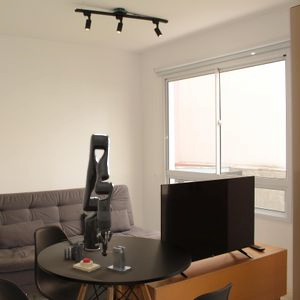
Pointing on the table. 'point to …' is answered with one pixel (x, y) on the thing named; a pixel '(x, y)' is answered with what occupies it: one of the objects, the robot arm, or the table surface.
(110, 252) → the lever handle
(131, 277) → the table surface
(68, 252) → the camera
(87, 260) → the button
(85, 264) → the button block
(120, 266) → the base
